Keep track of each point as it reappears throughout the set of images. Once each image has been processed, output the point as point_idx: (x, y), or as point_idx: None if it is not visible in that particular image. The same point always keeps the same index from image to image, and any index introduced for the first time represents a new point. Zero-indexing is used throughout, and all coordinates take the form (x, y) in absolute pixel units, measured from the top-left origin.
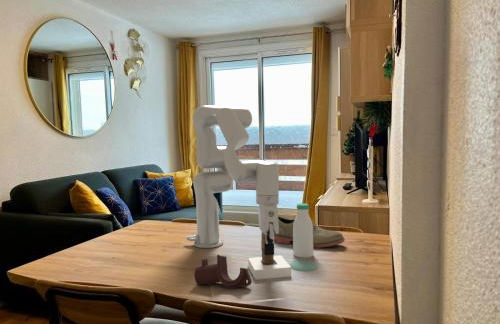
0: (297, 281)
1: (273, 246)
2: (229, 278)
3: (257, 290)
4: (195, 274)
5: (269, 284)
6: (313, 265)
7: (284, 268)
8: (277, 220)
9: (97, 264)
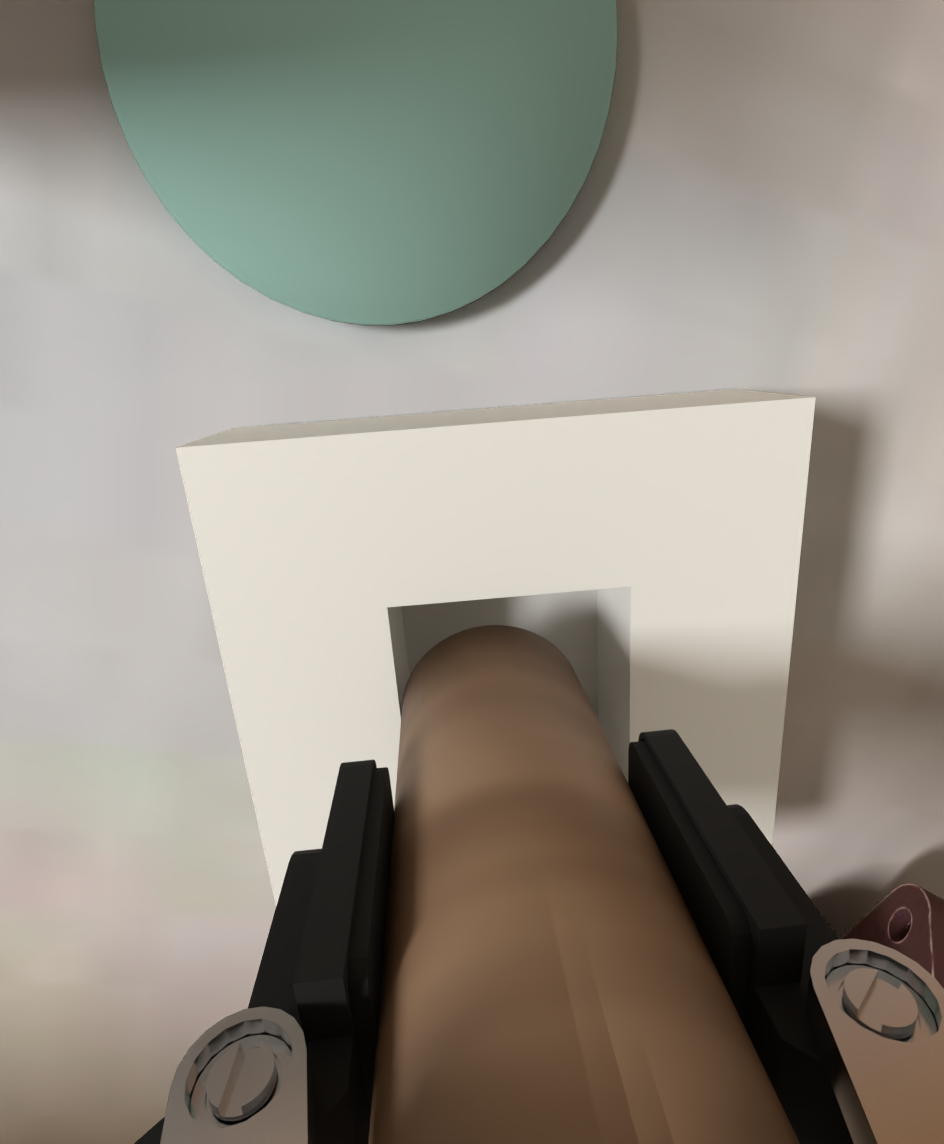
0: (871, 331)
1: (750, 859)
2: None
3: (932, 796)
4: None
5: (838, 675)
6: None
7: (795, 508)
8: None
9: None
